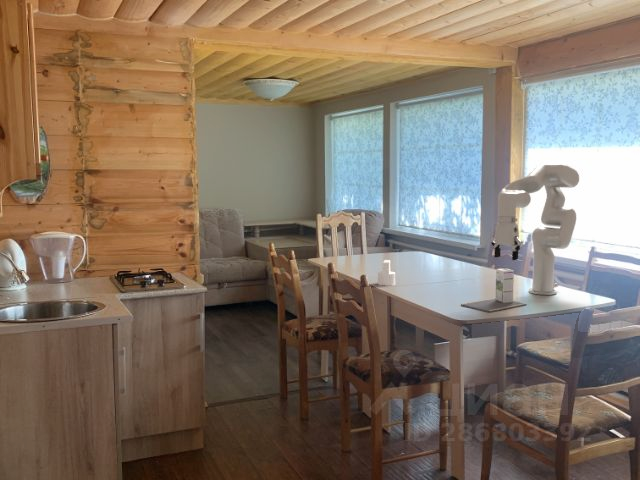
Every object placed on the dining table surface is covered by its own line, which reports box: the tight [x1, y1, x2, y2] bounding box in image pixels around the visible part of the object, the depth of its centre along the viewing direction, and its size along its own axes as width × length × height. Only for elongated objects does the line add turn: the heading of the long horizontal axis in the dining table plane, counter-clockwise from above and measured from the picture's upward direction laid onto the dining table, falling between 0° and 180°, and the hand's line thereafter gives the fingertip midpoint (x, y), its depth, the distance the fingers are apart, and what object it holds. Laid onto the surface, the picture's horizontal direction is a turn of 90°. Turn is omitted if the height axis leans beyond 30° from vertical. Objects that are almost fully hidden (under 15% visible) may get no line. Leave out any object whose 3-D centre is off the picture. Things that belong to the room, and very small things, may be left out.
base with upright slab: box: [377, 259, 396, 287], centre depth 329 cm, size 9×9×12 cm
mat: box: [460, 297, 527, 313], centre depth 280 cm, size 24×16×1 cm, turn 125°
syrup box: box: [495, 267, 515, 303], centre depth 285 cm, size 6×6×14 cm
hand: (506, 258), depth 284 cm, fingers open, 9 cm apart
